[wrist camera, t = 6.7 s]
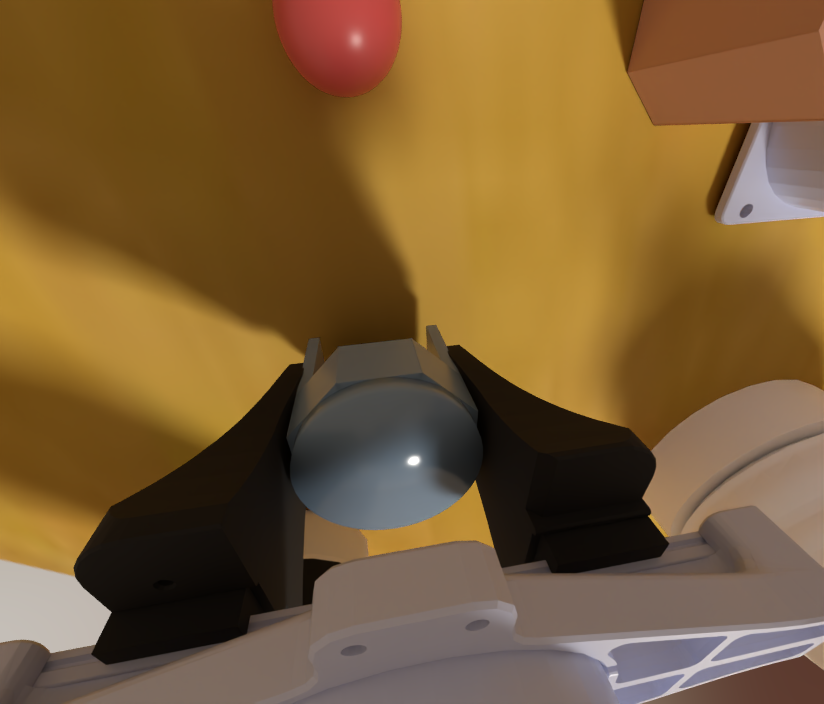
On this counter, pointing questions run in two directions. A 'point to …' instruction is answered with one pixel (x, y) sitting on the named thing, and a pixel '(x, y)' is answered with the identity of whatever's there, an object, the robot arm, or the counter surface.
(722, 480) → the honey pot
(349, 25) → the red marble
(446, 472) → the slate-blue dome with prongs
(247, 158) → the counter surface
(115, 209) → the counter surface
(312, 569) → the supplement can
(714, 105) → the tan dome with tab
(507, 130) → the counter surface
